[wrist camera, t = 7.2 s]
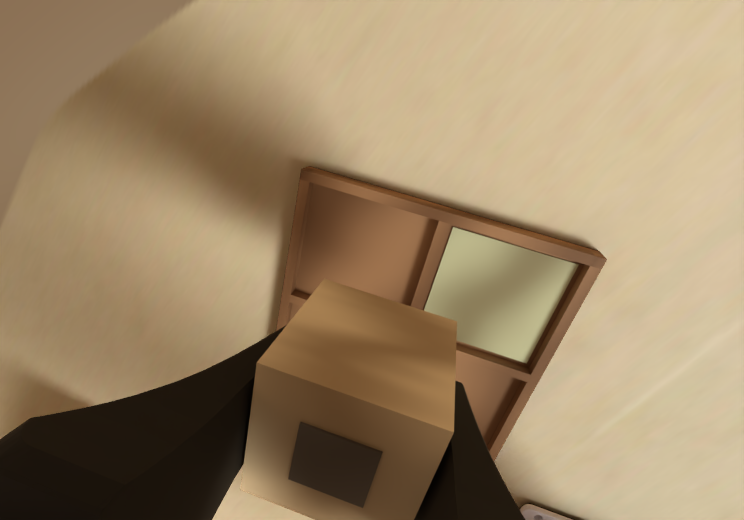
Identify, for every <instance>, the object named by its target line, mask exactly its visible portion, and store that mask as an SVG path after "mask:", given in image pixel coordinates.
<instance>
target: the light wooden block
mask: <svg viewBox="0 0 744 520" xmlns="http://www.w3.org/2000/svg"><path fill="white" fill-rule="evenodd" d="M456 340H457V321H454V320H451V319H448V318H445V317H442V316H439V315H436V314H433V313H429V312H426V311H423V310H420V309H417V308H414V307H411V306H408V305H405V304H401V303H398V302H395V301H392V300H389V299H386V298H383V297H380V296H377V295H373V294H370V293H367V292H364V291H361V290H358V289H355V288H352V287H348V286H345V285H342V284H339V283H336V282H333V281H330V280H327V279H324V280H323V281H322V282H321V283H320V285H319V286H318V287H317V288H316V290H315V291H314V292H313V293H312V295H311V296H310V297H309V298H308V300H307V301H306V302H305V303H304V304H303V306H302V307H301V308H300V309H299V311H298V312H297V313H296V314H295V316H294V317H293V318H292V319H291V321H290V322H289V323H288V324H287V326H286V327H285V328H284V329H283V331H282V332H281V333H280V334H279V336H278V337H277V338H276V339H275V340H274V342H273V343H272V344H271V345H270V347H269V348H268V349H267V350H266V352H265V353H264V354H263V355H262V357H261V358H260V359H259V360H258V362H257V365H256V372H255V380H254V388H253V396H252V403H251V411H250V419H249V427H248V434H247V442H246V450H245V458H244V465H243V473H242V481H241V489H240V490H242V491H244V492H247V493H249V494H252V495H254V496H257V497H259V498H262V499H265V500H267V501H270V502H272V503H275V504H277V505H280V506H282V507H285V508H287V509H290V510H292V511H295V512H297V513H300V514H302V515H305V516H307V517H310V518H312V519H315V520H414V519H415V516H416V514H417V512H418V510H419V508H420V505H421V503H422V501H423V499H424V497H425V495H426V492H427V490H428V488H429V486H430V484H431V481H432V479H433V477H434V475H435V473H436V470H437V468H438V466H439V464H440V462H441V459H442V457H443V455H444V453H445V451H446V449H447V446H448V444H449V442H450V440H451V438H452V435H453V433H454V411H455V376H456Z"/></svg>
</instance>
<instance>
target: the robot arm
mask: <svg viewBox="0 0 744 520" xmlns="http://www.w3.org/2000/svg"><path fill="white" fill-rule="evenodd" d="M286 326H287V325H286ZM286 326H284V327H282V328H281V329H279V330H277V331H276V332H274V333H272V334H271V335H269V336H267V337H266V338H264V339H262V340H261V341H259V342H257V343H256V344H254V345H252V346H250V347H248V348H247V349H245V350H243V351H241V352H240V353H238V354H236V355H234V356H232V357H230V358H228V359H226V360H224V361H222V362H220V363H218V364H216V365H214V366H212V367H210V368H208V369H206V370H203V371H201V372H199V373H196V374H194V375H192V376H189V377H187V378H184V379H182V380H179V381H177V382H174V383H171V384H168V385H165V386H162V387H159V388H156V389H153V390H150V391H147V392H144V393H141V394H137V395H134V396H131V397H127V398H123V399H120V400H116V401H112V402H108V403H104V404H100V405H96V406H91V407H87V408H82V409H77V410H72V411H66V412H61V413H56V414H51V415H45V416H40V417H34V418H30V419H29V420H27V421H26V422H24V423H23V424H21V425H20V426H18V427H17V428H16V429H14V430H13V431H11V432H10V433H9V434H7V435H6V436H4V437H3V438H2V439H0V520H212V518H213V517H214V515H215V513H216V511H217V509H218V507H219V506H220V504H221V502H222V500H223V498H224V496H225V495H226V493H227V491H228V489H229V487H230V485H231V484H232V482H233V480H234V478H235V477H236V475H237V473H238V472H239V470H240V469H241V467H242V465H243V464H244V458H245V450H246V442H247V434H248V427H249V419H250V411H251V403H252V396H253V388H254V380H255V372H256V365H257V362H258V360H259V359H260V358H261V357H262V355H263V354H264V353H265V352H266V350H267V349H268V348H269V347H270V345H271V344H272V343H273V342H274V340H275V339H276V338H277V337H278V336H279V334H280V333H281V332H282V331H283V329H284V328H285V327H286ZM414 520H572V519H570V518H567V517H564V516H561V515H559V514H556V513H553V512H551V511H548V510H545V509H543V508H540V507H537V506H534V505H531V504H525V505H523V506H522V507H521V509H520V510H519V508H518V506H517V505H516V503H515V501H514V499H513V498H512V496H511V494H510V492H509V491H508V489H507V487H506V485H505V483H504V481H503V479H502V477H501V475H500V473H499V471H498V469H497V467H496V465H495V463H494V461H493V459H492V457H491V455H490V452H489V450H488V448H487V446H486V443H485V441H484V439H483V436H482V434H481V432H480V429H479V427H478V424H477V422H476V419H475V416H474V414H473V411H472V408H471V406H470V403H469V400H468V397H467V394H466V391H465V388H464V386H463V384H462V383H461V382H458V381H455V411H454V433H453V435H452V438H451V440H450V442H449V444H448V446H447V449H446V451H445V453H444V455H443V457H442V459H441V462H440V464H439V466H438V468H437V470H436V473H435V475H434V477H433V479H432V481H431V484H430V486H429V488H428V490H427V492H426V495H425V497H424V499H423V501H422V503H421V505H420V508H419V510H418V512H417V514H416V516H415V519H414Z"/></svg>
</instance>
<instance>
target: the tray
mask: <svg viewBox="0 0 744 520" xmlns="http://www.w3.org/2000/svg"><path fill="white" fill-rule="evenodd" d="M606 260H607V259H606V258H605V257H604V256H603V255H602V254H601V253H600V252H599V251H596V250H593V249H589V248H586V247H583V246H579V245H576V244H572V243H569V242H566V241H562V240H559V239H555V238H552V237H549V236H545V235H542V234H538V233H535V232H532V231H528V230H525V229H521V228H518V227H515V226H511V225H508V224H504V223H501V222H498V221H494V220H491V219H487V218H484V217H481V216H477V215H474V214H470V213H467V212H464V211H460V210H457V209H453V208H450V207H447V206H443V205H440V204H436V203H433V202H430V201H426V200H423V199H419V198H416V197H413V196H409V195H406V194H402V193H399V192H396V191H392V190H389V189H385V188H382V187H379V186H375V185H372V184H368V183H365V182H362V181H358V180H355V179H351V178H348V177H345V176H341V175H338V174H334V173H331V172H328V171H324V170H321V169H317V168H314V167H311V166H308V167H306V168H303V169H301V175H300V182H299V188H298V194H297V201H296V207H295V213H294V220H293V226H292V233H291V239H290V245H289V252H288V258H287V264H286V271H285V277H284V284H283V290H282V296H281V303H280V309H279V315H278V322H277V328H276V331H277V330H279V329H281V328H282V327H284V326H286V325H287V324H288V323H289V322H290V321H291V319H292V318H293V317H294V316H295V314H296V313H297V312H298V311H299V309H300V308H301V307H302V306H303V304H304V303H305V302H306V301H307V300H308V298H309V297H310V296H311V295H312V293H313V292H314V291H315V290H316V288H317V287H318V286H319V285H320V283H321V282H322V281H323V280H324V279H327V280H330V281H333V282H336V283H339V284H342V285H345V286H348V287H352V288H355V289H358V290H361V291H364V292H367V293H370V294H373V295H377V296H380V297H383V298H386V299H389V300H392V301H395V302H398V303H401V304H405V305H408V306H411V307H414V308H417V309H420V310H423V311H426V312H429V313H433V314H436V315H439V316H442V317H445V318H448V319H451V320H454V321H457V340H456V376H455V381H458V382H461V383H462V384H463V386H464V388H465V391H466V394H467V397H468V400H469V403H470V406H471V408H472V411H473V414H474V416H475V419H476V422H477V424H478V427H479V429H480V432H481V434H482V436H483V439H484V441H485V443H486V446H487V448H488V450H489V452H490V455H491V457H492V459H493V461H494V460H495V459H496V457H497V455H498V453H499V451H500V450H501V448H502V446H503V444H504V442H505V441H506V439H507V437H508V435H509V434H510V432H511V430H512V428H513V426H514V425H515V423H516V421H517V419H518V417H519V416H520V414H521V412H522V410H523V409H524V407H525V405H526V403H527V401H528V400H529V398H530V396H531V394H532V393H533V391H534V389H535V387H536V385H537V384H538V382H539V380H540V378H541V376H542V375H543V373H544V371H545V369H546V368H547V366H548V364H549V362H550V360H551V359H552V357H553V355H554V353H555V351H556V350H557V348H558V346H559V344H560V343H561V341H562V339H563V337H564V335H565V334H566V332H567V330H568V328H569V326H570V325H571V323H572V321H573V319H574V318H575V316H576V314H577V312H578V310H579V309H580V307H581V305H582V303H583V301H584V300H585V298H586V296H587V294H588V293H589V291H590V289H591V287H592V285H593V284H594V282H595V280H596V278H597V276H598V275H599V273H600V271H601V269H602V268H603V266H604V264H605V262H606Z"/></svg>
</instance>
